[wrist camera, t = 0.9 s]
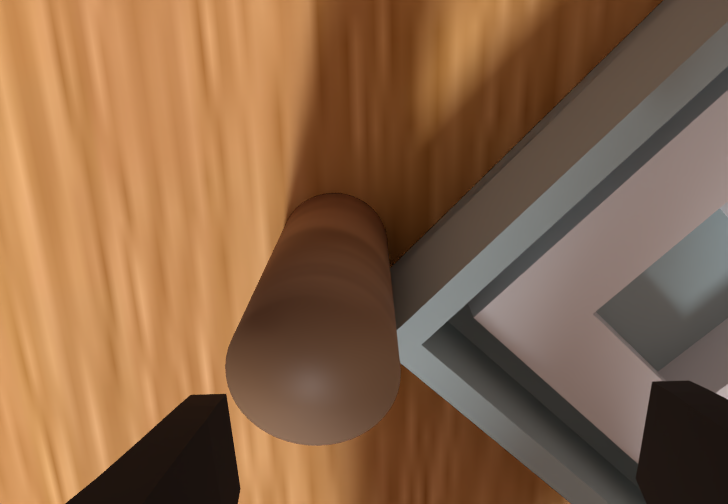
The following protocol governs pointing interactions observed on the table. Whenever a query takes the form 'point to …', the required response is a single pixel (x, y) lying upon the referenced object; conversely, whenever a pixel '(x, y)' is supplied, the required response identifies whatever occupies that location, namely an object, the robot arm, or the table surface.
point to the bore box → (587, 263)
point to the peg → (320, 328)
